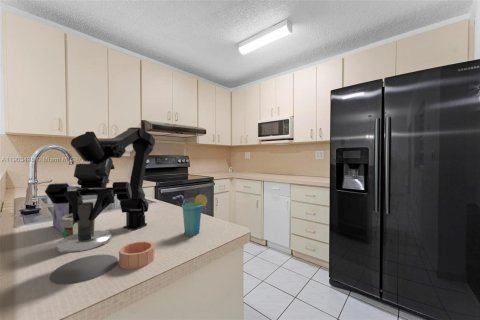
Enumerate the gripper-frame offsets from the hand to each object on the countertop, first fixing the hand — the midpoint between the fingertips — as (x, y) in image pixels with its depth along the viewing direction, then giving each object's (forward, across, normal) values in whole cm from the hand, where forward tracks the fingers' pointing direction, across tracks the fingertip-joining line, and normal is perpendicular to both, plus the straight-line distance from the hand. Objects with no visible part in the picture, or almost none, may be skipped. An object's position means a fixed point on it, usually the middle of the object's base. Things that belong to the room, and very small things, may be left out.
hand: (83, 220), depth 52 cm
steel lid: (+3, 0, +5) cm, 6 cm away
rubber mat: (+8, 0, +10) cm, 13 cm away
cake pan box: (-16, -18, +35) cm, 43 cm away
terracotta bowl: (+8, +12, +10) cm, 18 cm away
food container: (-4, -9, +22) cm, 24 cm away
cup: (-4, +27, +23) cm, 36 cm away
